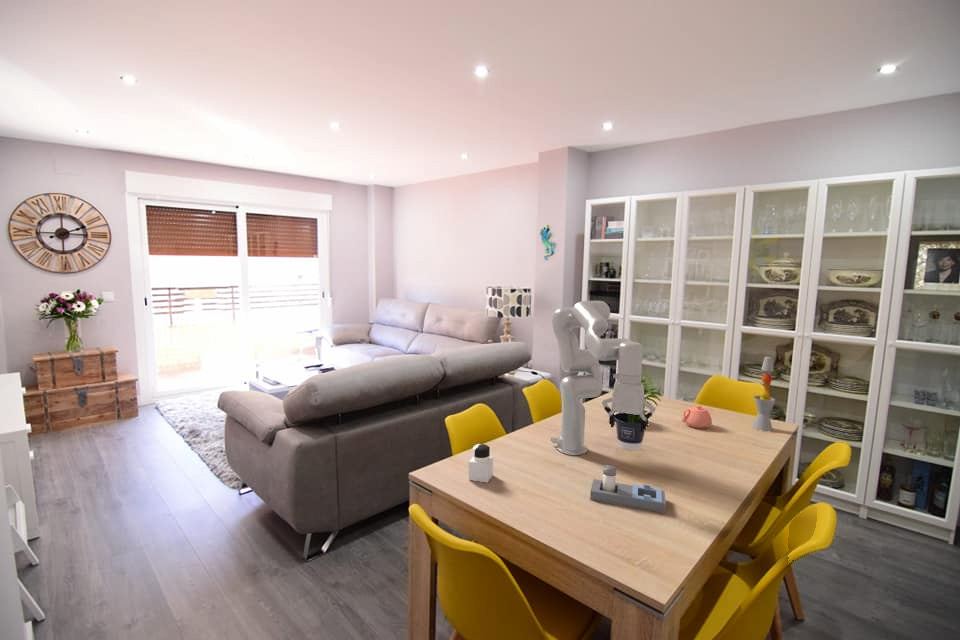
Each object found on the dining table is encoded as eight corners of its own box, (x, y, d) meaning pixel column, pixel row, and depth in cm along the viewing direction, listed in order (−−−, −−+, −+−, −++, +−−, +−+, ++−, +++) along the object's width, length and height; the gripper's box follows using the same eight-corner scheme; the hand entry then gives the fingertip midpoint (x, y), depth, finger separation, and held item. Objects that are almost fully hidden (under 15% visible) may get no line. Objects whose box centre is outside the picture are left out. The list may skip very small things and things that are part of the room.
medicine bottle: (493, 475, 167) (493, 443, 165) (487, 483, 160) (487, 451, 159) (475, 472, 169) (475, 441, 168) (468, 480, 162) (468, 448, 161)
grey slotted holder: (590, 499, 150) (590, 486, 149) (593, 487, 158) (593, 475, 158) (665, 513, 142) (665, 499, 142) (664, 499, 151) (664, 486, 150)
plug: (601, 497, 151) (602, 469, 150) (602, 492, 155) (604, 464, 154) (614, 500, 150) (615, 471, 149) (615, 494, 154) (616, 466, 152)
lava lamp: (752, 423, 225) (758, 354, 221) (773, 427, 220) (780, 356, 216) (750, 429, 218) (756, 357, 214) (772, 433, 213) (779, 359, 209)
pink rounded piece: (716, 430, 216) (717, 409, 214) (686, 430, 216) (688, 409, 215) (704, 421, 228) (705, 402, 227) (676, 421, 228) (677, 401, 227)
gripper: (600, 378, 152) (598, 427, 154) (655, 384, 144) (653, 436, 146) (605, 374, 159) (603, 421, 160) (658, 379, 151) (655, 429, 153)
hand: (627, 428), depth 153 cm, fingers open, 9 cm apart
